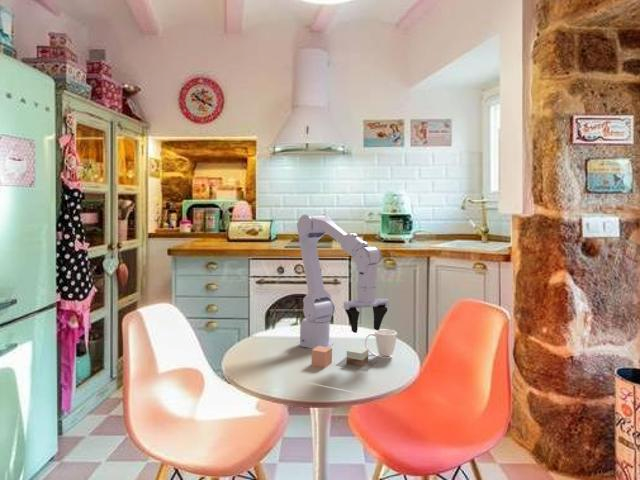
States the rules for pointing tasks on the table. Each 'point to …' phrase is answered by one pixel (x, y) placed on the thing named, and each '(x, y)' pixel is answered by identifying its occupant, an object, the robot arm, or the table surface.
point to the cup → (384, 342)
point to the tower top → (357, 353)
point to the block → (321, 356)
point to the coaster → (364, 368)
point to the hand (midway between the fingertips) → (365, 330)
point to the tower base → (357, 362)
